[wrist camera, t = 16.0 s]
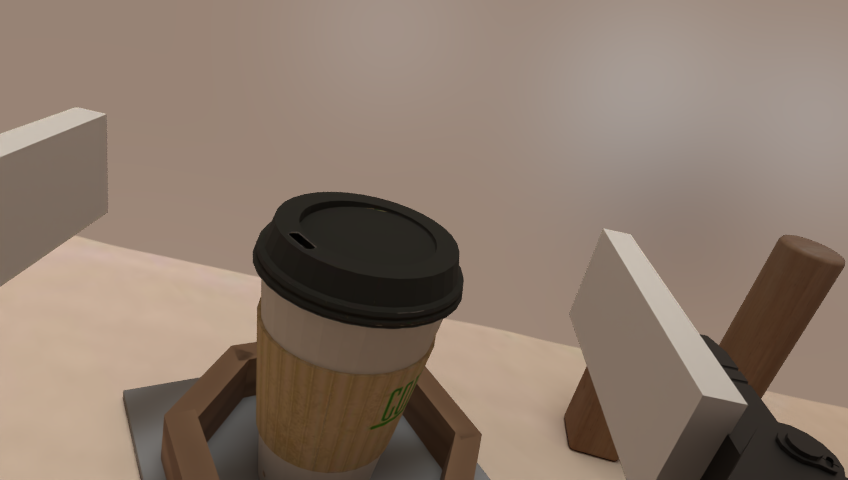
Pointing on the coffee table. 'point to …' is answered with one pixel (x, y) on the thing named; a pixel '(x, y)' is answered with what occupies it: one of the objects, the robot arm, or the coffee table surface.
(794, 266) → the wooden block
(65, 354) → the coffee table surface
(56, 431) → the coffee table surface
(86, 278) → the coffee table surface
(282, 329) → the coffee cup
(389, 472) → the cup collar
